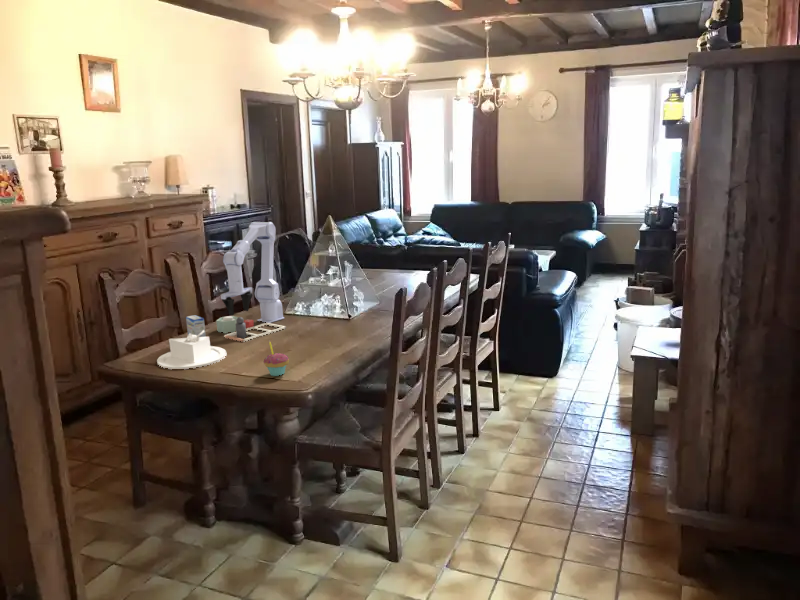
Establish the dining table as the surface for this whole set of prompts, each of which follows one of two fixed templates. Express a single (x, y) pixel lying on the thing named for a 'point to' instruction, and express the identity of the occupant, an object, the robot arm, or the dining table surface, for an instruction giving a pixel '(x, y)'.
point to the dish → (191, 353)
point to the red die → (249, 323)
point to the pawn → (240, 328)
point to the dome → (228, 318)
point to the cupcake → (276, 362)
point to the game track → (255, 334)
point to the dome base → (226, 325)
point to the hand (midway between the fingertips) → (238, 312)
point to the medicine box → (195, 325)
